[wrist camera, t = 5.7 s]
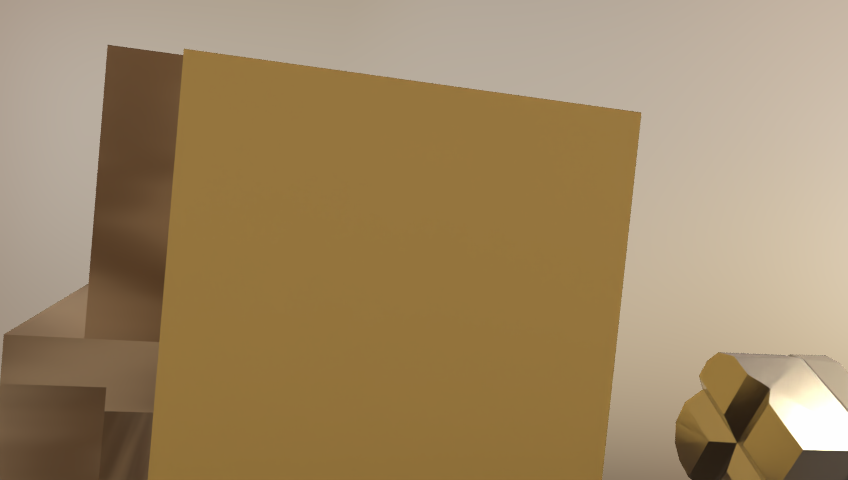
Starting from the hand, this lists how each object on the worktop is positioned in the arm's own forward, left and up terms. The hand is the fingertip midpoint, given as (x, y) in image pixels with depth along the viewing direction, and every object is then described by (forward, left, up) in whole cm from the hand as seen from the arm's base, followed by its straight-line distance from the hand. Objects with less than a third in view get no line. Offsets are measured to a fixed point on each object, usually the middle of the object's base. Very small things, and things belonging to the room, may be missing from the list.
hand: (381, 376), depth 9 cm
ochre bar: (+5, -9, -1) cm, 11 cm away
